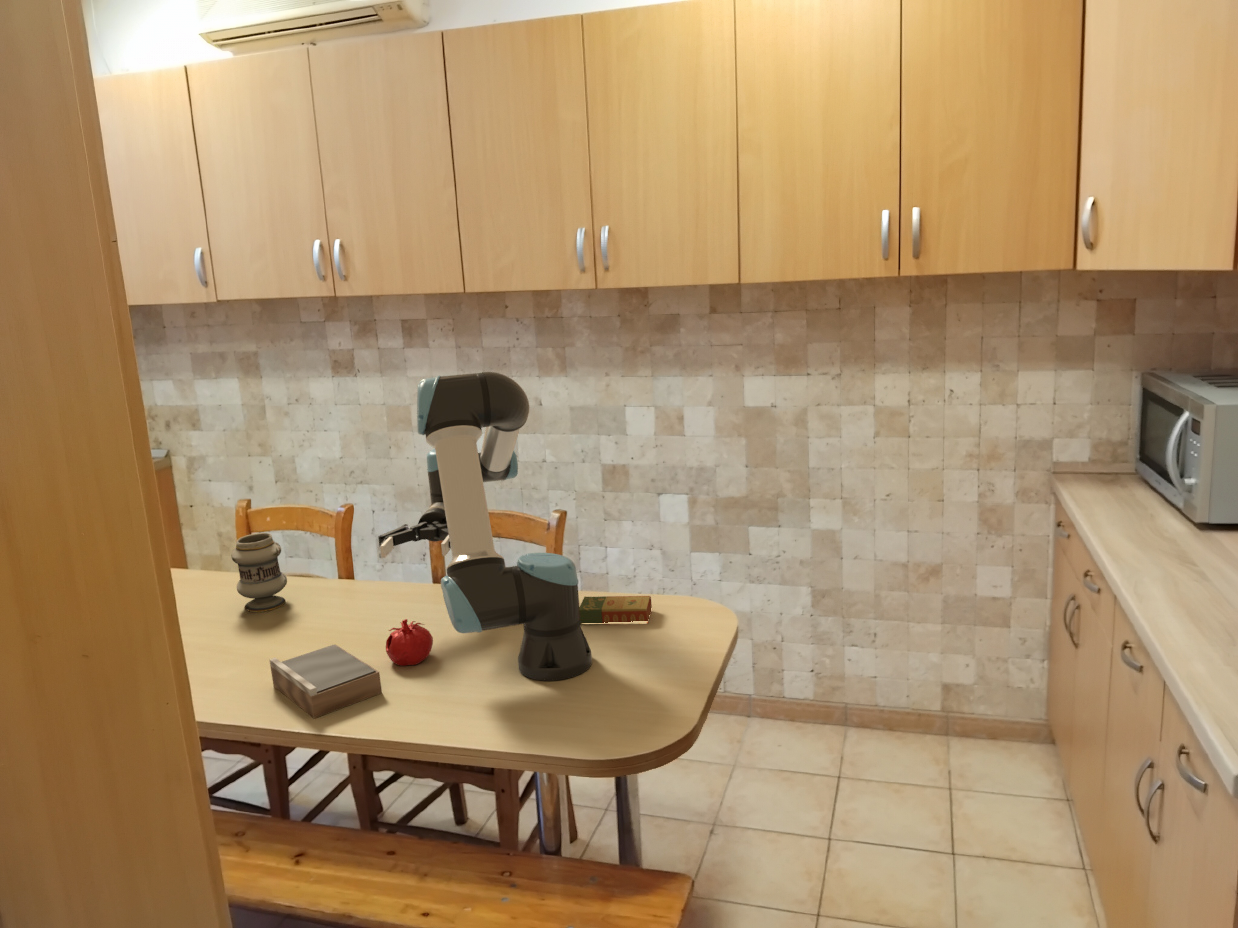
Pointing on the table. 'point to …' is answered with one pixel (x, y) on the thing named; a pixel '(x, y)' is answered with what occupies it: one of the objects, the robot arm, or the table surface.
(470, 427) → the robot arm
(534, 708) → the table surface
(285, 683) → the tray
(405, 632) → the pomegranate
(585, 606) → the carton
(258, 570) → the apothecary jar
